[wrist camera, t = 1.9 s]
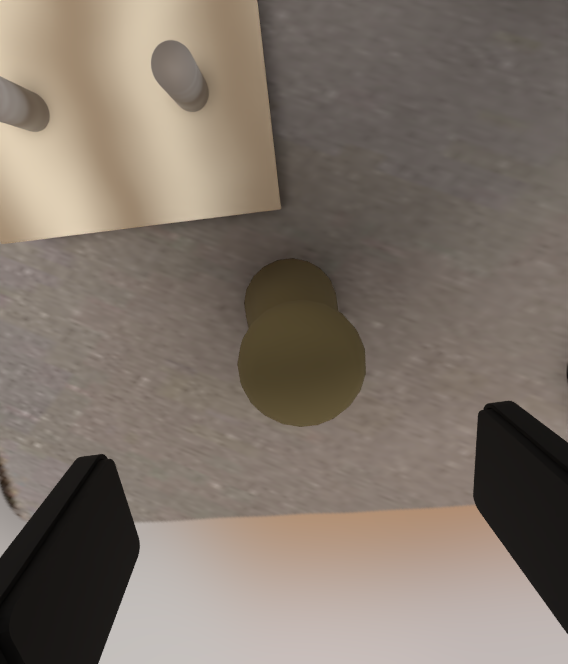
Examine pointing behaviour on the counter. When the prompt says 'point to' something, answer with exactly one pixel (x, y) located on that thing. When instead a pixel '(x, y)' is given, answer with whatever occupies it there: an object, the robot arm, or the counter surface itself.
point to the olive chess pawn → (298, 346)
